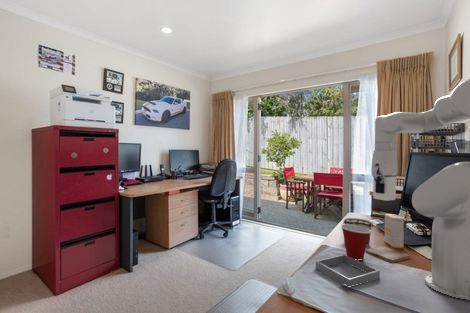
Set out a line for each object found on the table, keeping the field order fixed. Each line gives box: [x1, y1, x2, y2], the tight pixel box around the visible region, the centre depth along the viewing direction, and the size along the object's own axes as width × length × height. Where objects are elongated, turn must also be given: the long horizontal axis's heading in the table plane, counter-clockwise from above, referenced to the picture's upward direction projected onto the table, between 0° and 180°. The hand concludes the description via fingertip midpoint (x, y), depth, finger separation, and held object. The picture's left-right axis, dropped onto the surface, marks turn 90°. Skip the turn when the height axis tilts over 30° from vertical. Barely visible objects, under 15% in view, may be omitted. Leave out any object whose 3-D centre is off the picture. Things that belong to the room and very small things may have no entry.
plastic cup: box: [340, 223, 372, 260], centre depth 95 cm, size 11×11×12 cm
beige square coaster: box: [365, 245, 411, 264], centre depth 97 cm, size 11×11×1 cm
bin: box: [315, 254, 381, 287], centre depth 82 cm, size 14×14×2 cm
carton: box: [372, 176, 397, 202], centre depth 96 cm, size 6×6×9 cm
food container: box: [342, 217, 374, 246], centre depth 113 cm, size 12×6×10 cm, turn 65°
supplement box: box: [384, 213, 405, 249], centre depth 109 cm, size 8×5×13 cm, turn 168°
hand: (384, 192), depth 96 cm, fingers closed on carton, 5 cm apart
